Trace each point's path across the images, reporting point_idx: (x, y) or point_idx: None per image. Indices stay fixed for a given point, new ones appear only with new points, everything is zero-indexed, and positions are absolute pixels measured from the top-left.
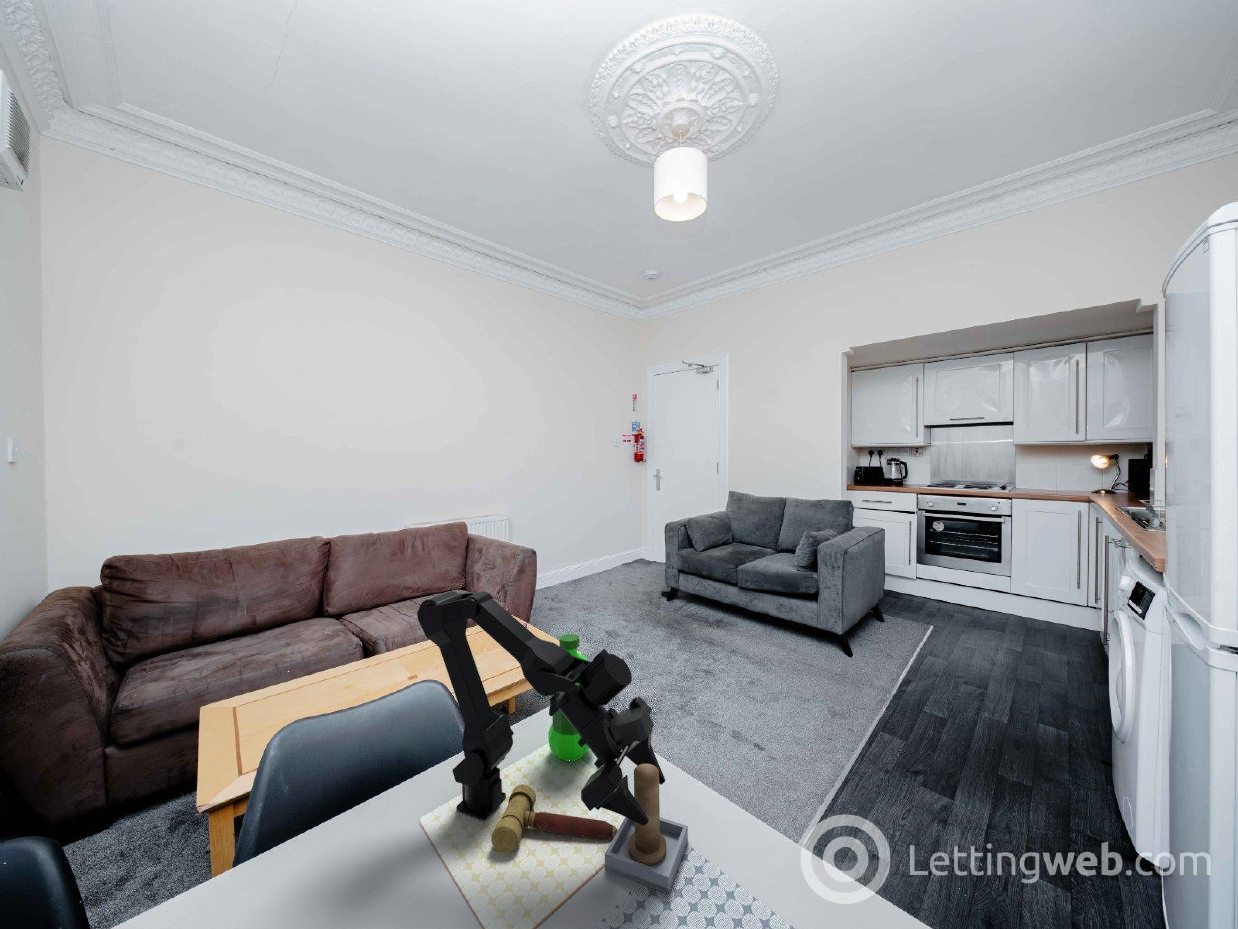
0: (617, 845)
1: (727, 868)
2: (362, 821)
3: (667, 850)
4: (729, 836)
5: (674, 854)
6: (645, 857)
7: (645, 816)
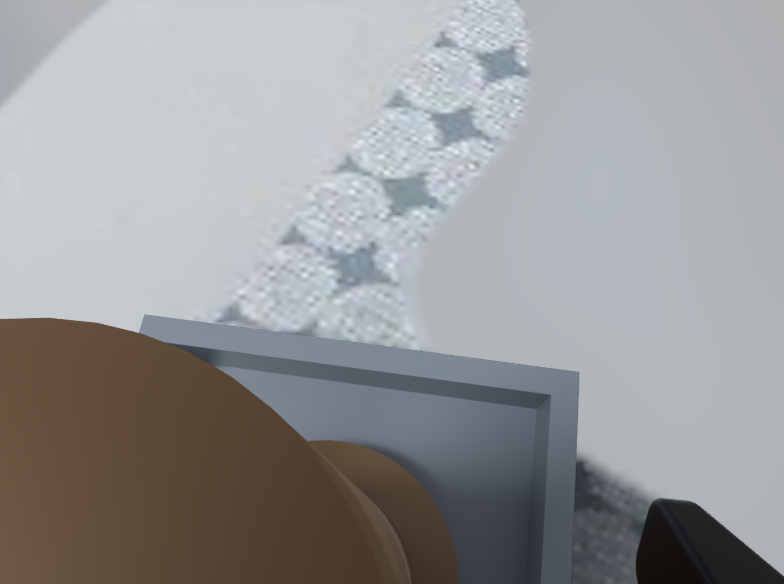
0: None
1: (318, 143)
2: None
3: None
4: (120, 146)
5: (398, 363)
6: (438, 571)
7: (720, 542)
